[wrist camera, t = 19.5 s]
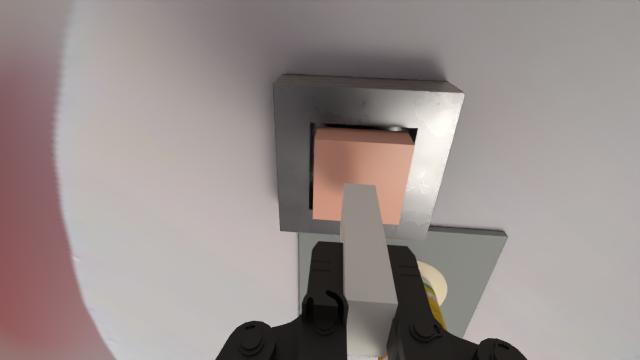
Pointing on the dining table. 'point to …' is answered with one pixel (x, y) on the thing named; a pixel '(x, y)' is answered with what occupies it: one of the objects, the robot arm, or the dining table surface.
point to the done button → (361, 168)
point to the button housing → (362, 113)
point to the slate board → (437, 267)
